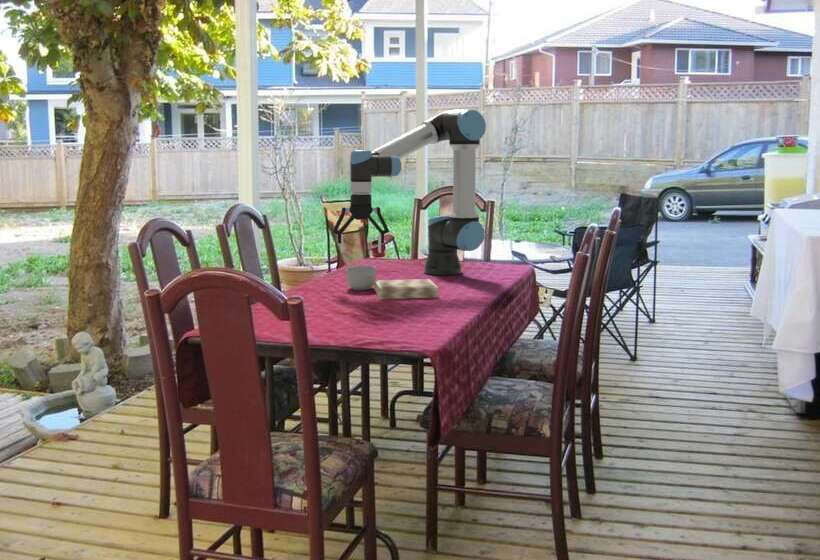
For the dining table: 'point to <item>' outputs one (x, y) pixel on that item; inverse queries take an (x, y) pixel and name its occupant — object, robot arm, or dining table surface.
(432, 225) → the robot arm
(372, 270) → the teacup
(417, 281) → the beige tray
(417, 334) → the dining table surface
